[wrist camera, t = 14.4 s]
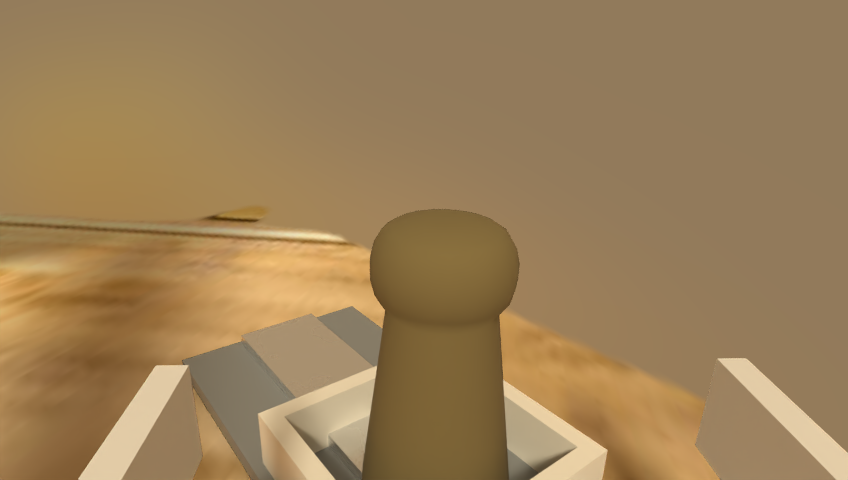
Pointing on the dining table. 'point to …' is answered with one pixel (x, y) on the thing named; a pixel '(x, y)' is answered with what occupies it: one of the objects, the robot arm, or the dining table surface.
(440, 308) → the cork
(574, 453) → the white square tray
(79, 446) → the dining table surface
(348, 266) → the dining table surface
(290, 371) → the metal rail
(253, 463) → the mounting board
